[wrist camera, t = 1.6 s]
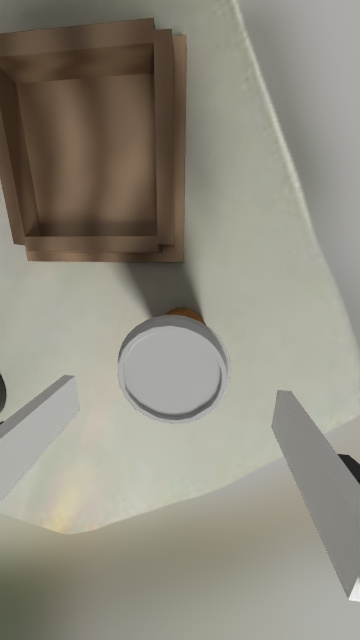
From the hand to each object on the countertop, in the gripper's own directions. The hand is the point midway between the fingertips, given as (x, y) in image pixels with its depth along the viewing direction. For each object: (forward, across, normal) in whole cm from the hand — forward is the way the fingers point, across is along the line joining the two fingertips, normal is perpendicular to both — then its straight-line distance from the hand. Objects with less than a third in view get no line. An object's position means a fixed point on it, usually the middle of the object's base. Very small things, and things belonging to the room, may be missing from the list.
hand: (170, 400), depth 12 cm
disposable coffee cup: (+15, -1, 0) cm, 15 cm away
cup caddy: (+14, -11, +19) cm, 26 cm away
